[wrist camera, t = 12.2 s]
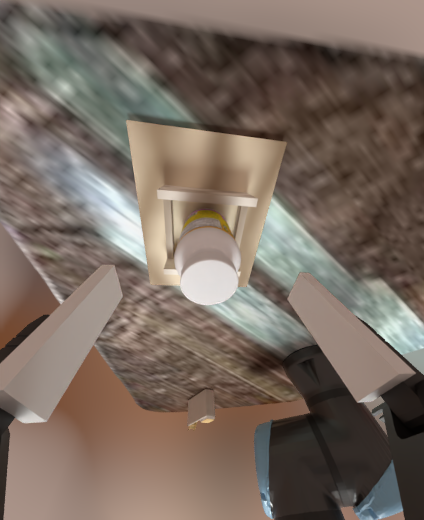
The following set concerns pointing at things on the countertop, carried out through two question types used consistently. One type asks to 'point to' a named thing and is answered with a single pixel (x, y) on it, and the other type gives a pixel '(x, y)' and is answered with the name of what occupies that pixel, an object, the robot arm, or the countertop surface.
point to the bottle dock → (200, 188)
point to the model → (201, 408)
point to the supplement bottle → (207, 258)
